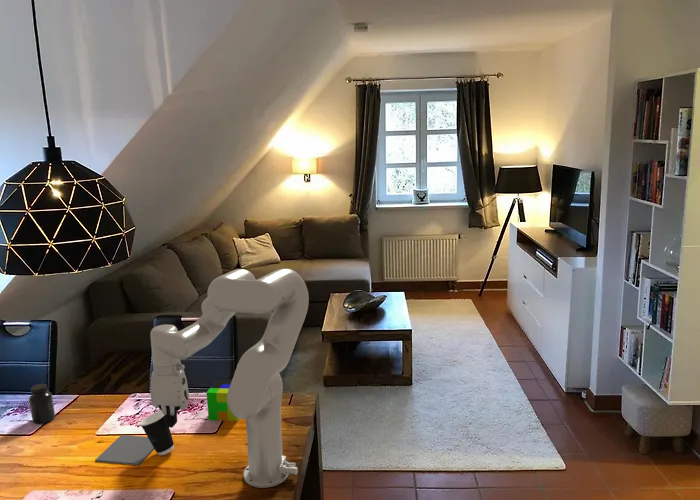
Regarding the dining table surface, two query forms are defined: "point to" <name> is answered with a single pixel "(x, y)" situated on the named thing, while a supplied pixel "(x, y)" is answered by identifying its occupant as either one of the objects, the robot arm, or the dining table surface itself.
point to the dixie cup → (158, 433)
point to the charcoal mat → (127, 450)
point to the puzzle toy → (219, 401)
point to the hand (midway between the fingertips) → (171, 425)
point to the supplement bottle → (41, 404)
